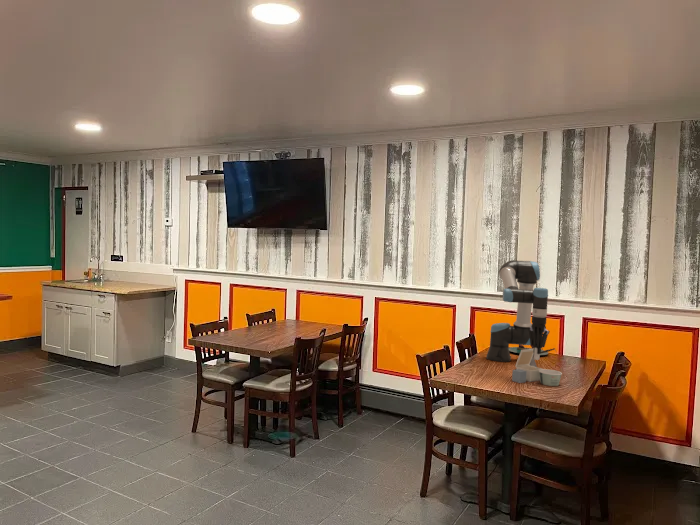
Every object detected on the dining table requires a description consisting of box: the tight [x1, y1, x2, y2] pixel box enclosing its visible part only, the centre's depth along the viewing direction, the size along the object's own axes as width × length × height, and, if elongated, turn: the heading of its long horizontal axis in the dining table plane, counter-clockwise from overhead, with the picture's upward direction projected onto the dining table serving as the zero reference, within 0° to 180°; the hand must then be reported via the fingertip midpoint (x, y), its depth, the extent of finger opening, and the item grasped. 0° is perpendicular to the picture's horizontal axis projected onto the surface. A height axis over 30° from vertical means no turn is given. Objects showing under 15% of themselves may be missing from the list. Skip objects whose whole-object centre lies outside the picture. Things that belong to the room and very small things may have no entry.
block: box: [511, 368, 527, 384], centre depth 294 cm, size 5×5×6 cm
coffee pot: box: [521, 347, 557, 367], centre depth 321 cm, size 21×12×15 cm, turn 72°
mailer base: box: [515, 365, 543, 383], centre depth 302 cm, size 10×11×6 cm
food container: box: [539, 368, 563, 387], centre depth 293 cm, size 12×12×6 cm
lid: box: [515, 348, 534, 368], centre depth 305 cm, size 11×11×1 cm
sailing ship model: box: [509, 345, 549, 356], centre depth 381 cm, size 28×28×11 cm
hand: (536, 359), depth 299 cm, fingers closed
